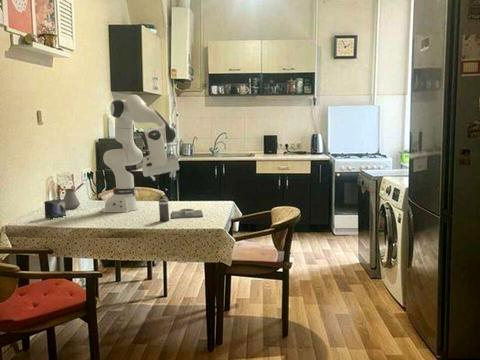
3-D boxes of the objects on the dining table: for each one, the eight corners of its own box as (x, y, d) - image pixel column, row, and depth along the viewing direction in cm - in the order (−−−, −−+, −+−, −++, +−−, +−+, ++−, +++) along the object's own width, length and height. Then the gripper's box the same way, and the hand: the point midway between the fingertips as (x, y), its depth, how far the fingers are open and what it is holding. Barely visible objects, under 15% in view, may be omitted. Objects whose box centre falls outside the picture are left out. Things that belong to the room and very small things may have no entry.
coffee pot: (72, 210, 312) (71, 187, 310) (57, 209, 316) (56, 187, 314) (92, 204, 333) (91, 182, 331) (78, 203, 336) (76, 182, 334)
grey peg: (159, 222, 272) (158, 200, 270) (159, 220, 277) (158, 199, 275) (169, 221, 272) (168, 200, 271) (169, 219, 278) (168, 198, 276)
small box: (51, 219, 285) (50, 202, 284) (44, 218, 289) (43, 201, 287) (66, 216, 294) (65, 199, 293) (59, 215, 297) (58, 198, 296)
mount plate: (171, 218, 280) (171, 213, 280) (171, 213, 296) (171, 208, 295) (202, 217, 282) (202, 211, 282) (201, 211, 298) (201, 206, 298)
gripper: (176, 151, 267) (180, 171, 275) (139, 158, 263) (144, 178, 272) (179, 158, 262) (182, 178, 271) (141, 165, 258) (145, 185, 267)
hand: (162, 178), depth 271 cm, fingers open, 8 cm apart
